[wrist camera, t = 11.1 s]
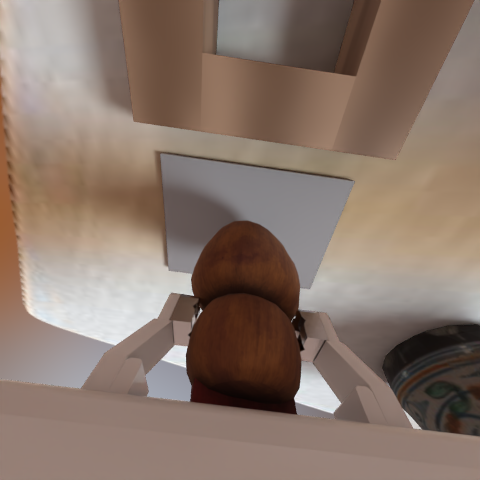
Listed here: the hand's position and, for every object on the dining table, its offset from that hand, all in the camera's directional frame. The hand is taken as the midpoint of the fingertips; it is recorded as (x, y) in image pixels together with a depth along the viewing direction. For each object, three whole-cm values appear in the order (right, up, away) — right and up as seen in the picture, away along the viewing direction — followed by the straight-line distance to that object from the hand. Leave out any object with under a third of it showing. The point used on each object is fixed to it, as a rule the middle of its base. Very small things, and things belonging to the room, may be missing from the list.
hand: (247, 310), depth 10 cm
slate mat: (0, +5, +9) cm, 10 cm away
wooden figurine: (0, +4, +6) cm, 7 cm away
